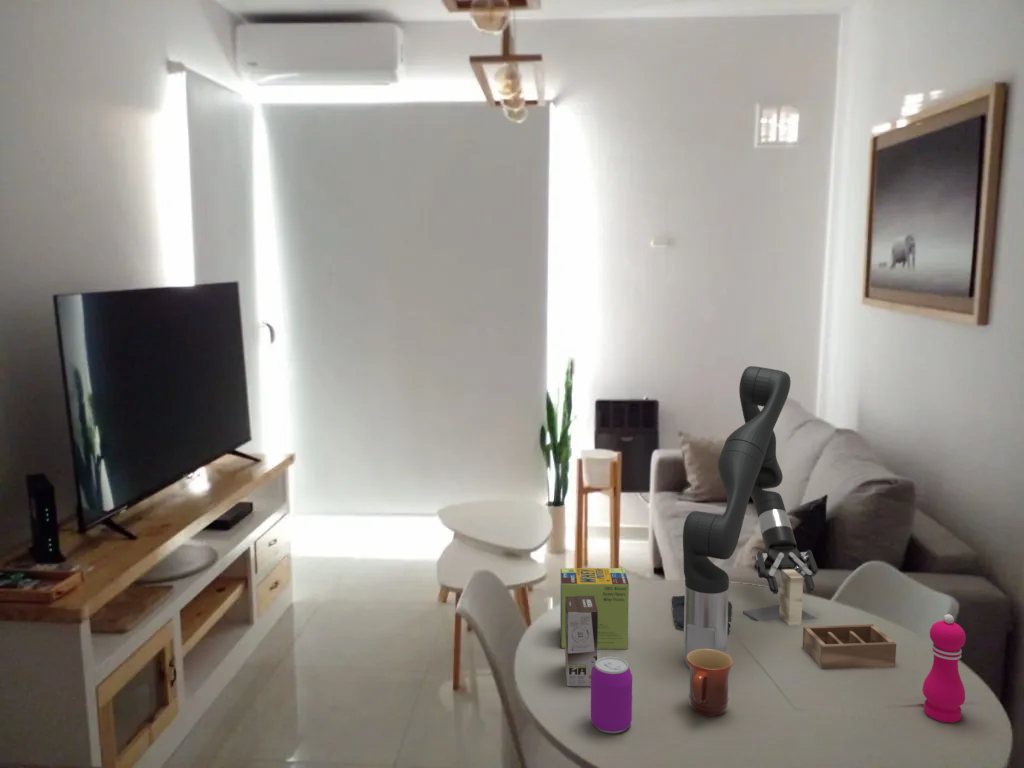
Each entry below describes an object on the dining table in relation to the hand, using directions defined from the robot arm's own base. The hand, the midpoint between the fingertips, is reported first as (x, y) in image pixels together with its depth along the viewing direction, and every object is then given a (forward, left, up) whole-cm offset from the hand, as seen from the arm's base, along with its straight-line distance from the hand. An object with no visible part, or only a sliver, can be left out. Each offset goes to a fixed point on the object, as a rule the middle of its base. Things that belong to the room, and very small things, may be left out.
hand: (793, 592), depth 195 cm
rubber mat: (+1, +1, -8) cm, 8 cm away
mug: (-49, +10, -8) cm, 51 cm away
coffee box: (-46, +37, -8) cm, 59 cm away
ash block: (+1, +1, -8) cm, 8 cm away
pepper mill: (-30, -31, -8) cm, 44 cm away
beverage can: (-61, +25, -8) cm, 66 cm away
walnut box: (-14, -13, -8) cm, 21 cm away
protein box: (-28, +41, -9) cm, 50 cm away
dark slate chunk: (-4, +21, -9) cm, 23 cm away
